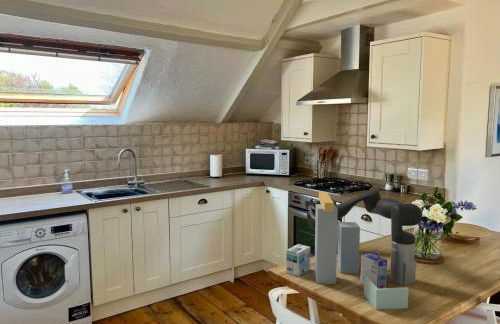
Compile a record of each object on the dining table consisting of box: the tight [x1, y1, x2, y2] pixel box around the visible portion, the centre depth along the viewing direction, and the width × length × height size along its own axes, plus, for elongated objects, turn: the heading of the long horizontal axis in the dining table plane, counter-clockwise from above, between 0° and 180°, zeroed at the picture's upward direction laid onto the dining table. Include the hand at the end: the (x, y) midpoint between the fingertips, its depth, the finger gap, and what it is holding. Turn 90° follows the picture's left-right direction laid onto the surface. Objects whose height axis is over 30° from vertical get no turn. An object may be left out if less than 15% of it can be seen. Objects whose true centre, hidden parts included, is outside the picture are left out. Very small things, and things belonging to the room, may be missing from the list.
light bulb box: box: [285, 243, 311, 277], centre depth 179 cm, size 11×7×11 cm, turn 143°
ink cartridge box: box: [359, 249, 388, 289], centre depth 164 cm, size 10×6×14 cm, turn 28°
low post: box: [337, 221, 361, 274], centre depth 180 cm, size 8×8×21 cm
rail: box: [318, 191, 334, 212], centre depth 169 cm, size 22×4×4 cm, turn 176°
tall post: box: [314, 204, 338, 285], centre depth 169 cm, size 8×8×32 cm
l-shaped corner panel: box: [363, 276, 409, 310], centre depth 151 cm, size 12×12×8 cm
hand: (322, 200), depth 181 cm, fingers open, 8 cm apart
